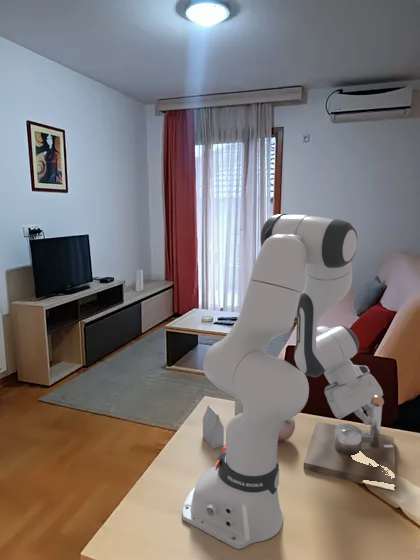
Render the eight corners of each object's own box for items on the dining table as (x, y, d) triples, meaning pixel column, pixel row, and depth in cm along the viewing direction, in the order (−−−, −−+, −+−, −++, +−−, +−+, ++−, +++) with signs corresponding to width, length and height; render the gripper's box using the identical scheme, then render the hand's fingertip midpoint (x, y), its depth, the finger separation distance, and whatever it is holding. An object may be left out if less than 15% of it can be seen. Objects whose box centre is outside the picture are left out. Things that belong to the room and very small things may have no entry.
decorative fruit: (301, 441, 120) (302, 409, 118) (283, 452, 115) (284, 419, 113) (275, 428, 127) (276, 398, 125) (258, 438, 121) (258, 407, 119)
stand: (303, 469, 107) (303, 462, 107) (316, 427, 127) (316, 421, 127) (395, 491, 99) (395, 484, 98) (393, 442, 119) (394, 436, 118)
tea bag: (212, 448, 117) (211, 416, 115) (202, 436, 123) (202, 405, 121) (223, 445, 118) (223, 413, 116) (214, 433, 124) (213, 403, 122)
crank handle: (341, 456, 109) (344, 405, 106) (329, 441, 116) (332, 393, 113) (386, 450, 111) (390, 401, 108) (372, 436, 118) (376, 389, 115)
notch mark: (384, 447, 113) (384, 446, 113) (383, 445, 114) (383, 444, 114) (393, 447, 113) (393, 446, 113) (391, 445, 114) (391, 444, 114)
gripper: (329, 383, 112) (358, 431, 107) (370, 364, 125) (398, 407, 119) (315, 392, 117) (342, 438, 111) (356, 373, 129) (382, 414, 123)
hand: (371, 422), depth 115 cm, fingers closed
